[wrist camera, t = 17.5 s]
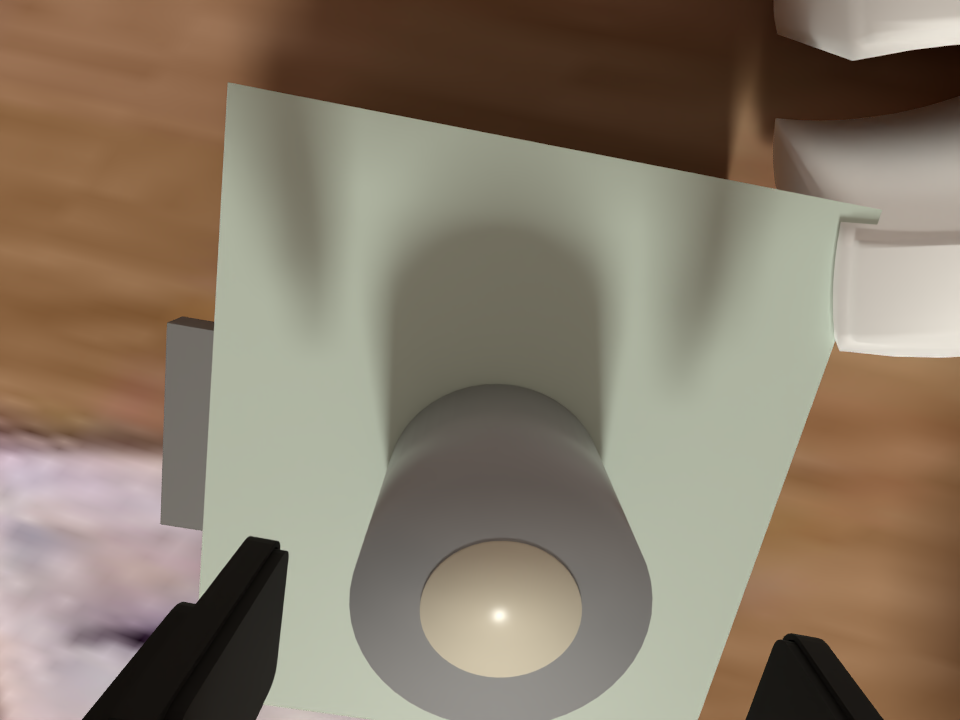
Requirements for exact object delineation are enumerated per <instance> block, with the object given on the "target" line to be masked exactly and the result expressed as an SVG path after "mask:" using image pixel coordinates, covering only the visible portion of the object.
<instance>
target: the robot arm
mask: <svg viewBox="0 0 960 720" xmlns="http://www.w3.org/2000/svg"><path fill="white" fill-rule="evenodd" d="M288 560H289V552H288V551H285V550H280V542H279V541H276V540H270V539H265V538H259V537H254V536H249V537H247V538H246V539H245V541H244V542H243V543H242V544H241V546H240V547H239V548H238V550H237V551H236V552H235V554H234V555H233V556H232V557H231V559H230V560H229V561H228V563H227V564H226V565H225V567H224V568H223V569H222V570H221V572H220V573H219V574H218V576H217V577H216V578H215V580H214V581H213V582H212V584H211V585H210V586H209V587H208V589H207V590H206V591H205V593H204V594H203V595H202V597H201V598H200V599H199V600H198V602H197V603H196V604H192V603H187V602H181V603H179V604H177V605H176V606H175V607H174V608H173V609H172V610H171V611H170V612H169V614H168V615H167V616H166V617H165V619H164V620H163V621H162V622H161V623H160V625H159V626H158V627H157V628H156V630H155V631H154V632H153V633H152V635H151V636H150V637H149V638H148V639H147V641H146V642H145V643H144V644H143V646H142V647H141V648H140V649H139V650H138V652H137V653H136V654H135V655H134V657H133V658H132V659H131V660H130V661H129V663H128V664H127V665H126V666H125V668H124V669H123V670H122V671H121V672H120V674H119V675H118V676H117V677H116V679H115V680H114V681H113V682H112V684H111V685H110V686H109V687H108V688H107V690H106V691H105V692H104V693H103V695H102V696H101V697H100V698H99V699H98V701H97V702H96V703H95V704H94V706H93V707H92V708H91V709H90V710H89V712H88V713H87V714H86V715H85V717H84V718H83V719H82V720H256V718H257V716H258V714H259V712H260V710H261V708H262V706H263V703H264V701H265V699H266V697H267V695H268V693H269V691H270V689H271V686H272V683H273V680H274V677H275V673H276V668H277V660H278V651H279V642H280V633H281V624H282V615H283V605H284V596H285V587H286V578H287V569H288ZM746 720H883V718H882V717H881V716H880V714H879V713H878V712H877V710H876V709H875V708H874V706H873V705H872V704H871V702H870V701H869V700H868V698H867V697H866V696H865V694H864V693H863V692H862V690H861V689H860V688H859V686H858V685H857V684H856V682H855V681H854V680H853V678H852V677H851V675H850V674H849V673H848V671H847V670H846V669H845V667H844V666H843V665H842V663H841V662H840V661H839V659H838V658H837V657H836V655H835V654H834V653H833V651H832V650H831V649H830V647H829V646H828V645H827V644H826V643H825V642H824V641H823V640H822V639H819V638H814V637H809V636H803V635H798V634H792V633H791V634H787V635H786V636H784V638H783V640H777V641H776V642H775V644H774V646H773V648H772V651H771V654H770V656H769V659H768V662H767V664H766V667H765V670H764V672H763V675H762V678H761V680H760V683H759V686H758V688H757V691H756V694H755V696H754V699H753V702H752V704H751V707H750V710H749V712H748V715H747V717H746Z"/></svg>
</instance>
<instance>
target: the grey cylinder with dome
mask: <svg viewBox="0 0 960 720" xmlns="http://www.w3.org/2000/svg"><path fill="white" fill-rule="evenodd" d="M652 600H653V597H652V586H651V579H650V575H649V571H648V568H647V564H646V562H645V560H644V557H643V555H642V553H641V550H640V548H639V546H638V543H637V541H636V539H635V537H634V534H633V532H632V530H631V527H630V525H629V523H628V520H627V518H626V516H625V514H624V511H623V509H622V507H621V504H620V502H619V500H618V497H617V495H616V493H615V491H614V488H613V486H612V484H611V481H610V479H609V477H608V474H607V472H606V470H605V468H604V465H603V463H602V461H601V458H600V456H599V454H598V451H597V449H596V447H595V445H594V442H593V440H592V438H591V436H590V435H589V433H588V431H587V430H586V428H585V427H584V426H583V424H582V423H581V422H580V421H579V420H578V418H577V417H576V416H575V415H574V414H572V413H571V412H570V411H569V410H568V409H567V408H566V407H564V406H563V405H561V404H560V403H558V402H557V401H556V400H554V399H552V398H550V397H548V396H546V395H544V394H542V393H539V392H537V391H534V390H531V389H528V388H524V387H519V386H515V385H505V384H484V385H478V386H471V387H467V388H464V389H460V390H457V391H454V392H452V393H450V394H447V395H445V396H443V397H441V398H439V399H437V400H436V401H434V402H432V403H431V404H429V405H428V406H427V407H426V408H424V409H423V410H422V411H420V412H419V413H418V414H417V415H416V416H415V417H414V418H413V419H412V420H411V421H410V423H409V424H408V425H407V427H406V428H405V429H404V431H403V432H402V434H401V435H400V437H399V439H398V441H397V443H396V445H395V448H394V450H393V453H392V456H391V459H390V462H389V465H388V468H387V471H386V474H385V477H384V480H383V483H382V486H381V489H380V492H379V495H378V498H377V502H376V505H375V508H374V511H373V514H372V517H371V520H370V523H369V526H368V529H367V532H366V535H365V538H364V541H363V544H362V547H361V550H360V553H359V557H358V560H357V563H356V566H355V569H354V572H353V576H352V581H351V586H350V597H349V609H350V618H351V624H352V628H353V631H354V635H355V638H356V641H357V643H358V645H359V647H360V650H361V652H362V654H363V655H364V657H365V659H366V660H367V662H368V663H369V665H370V666H371V668H372V669H373V670H374V671H375V673H376V674H377V675H378V676H379V677H380V679H381V680H382V681H383V682H384V683H385V684H387V685H388V686H389V687H390V688H391V689H392V690H393V691H394V692H395V693H397V694H398V695H400V696H401V697H402V698H404V699H405V700H407V701H408V702H410V703H411V704H413V705H415V706H417V707H419V708H421V709H422V710H424V711H427V712H429V713H431V714H434V715H436V716H439V717H441V718H445V719H448V720H551V719H554V718H557V717H560V716H563V715H566V714H568V713H570V712H572V711H574V710H577V709H579V708H581V707H583V706H584V705H586V704H588V703H589V702H591V701H593V700H594V699H596V698H598V697H599V696H600V695H601V694H603V693H604V692H605V691H606V690H608V689H609V688H610V687H611V686H612V685H613V684H614V683H615V682H616V681H617V680H618V679H619V678H620V677H621V676H622V675H623V674H624V673H625V672H626V670H627V669H628V668H629V666H630V665H631V664H632V663H633V661H634V660H635V658H636V656H637V654H638V652H639V651H640V649H641V647H642V645H643V642H644V640H645V637H646V635H647V632H648V628H649V624H650V620H651V615H652Z"/></svg>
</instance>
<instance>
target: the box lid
mask: <svg viewBox="0 0 960 720" xmlns="http://www.w3.org/2000/svg"><path fill="white" fill-rule="evenodd" d="M881 213H882V210H880V209H875V208H870V207H865V206H860V205H855V204H849V203H844V202H839V201H834V200H829V199H824V198H819V197H814V196H808V195H803V194H798V193H793V192H788V191H783V190H778V189H772V188H767V187H762V186H757V185H752V184H747V183H742V182H737V181H731V180H726V179H721V178H716V177H711V176H706V175H701V174H695V173H690V172H685V171H680V170H675V169H670V168H665V167H660V166H654V165H649V164H644V163H639V162H634V161H629V160H624V159H618V158H613V157H608V156H603V155H598V154H593V153H588V152H583V151H577V150H572V149H567V148H562V147H557V146H552V145H547V144H541V143H536V142H531V141H526V140H521V139H516V138H511V137H506V136H500V135H495V134H490V133H485V132H480V131H475V130H470V129H464V128H459V127H454V126H449V125H444V124H439V123H434V122H429V121H423V120H418V119H413V118H408V117H403V116H398V115H393V114H388V113H382V112H377V111H372V110H367V109H362V108H357V107H352V106H346V105H341V104H336V103H331V102H326V101H321V100H316V99H311V98H305V97H300V96H295V95H290V94H285V93H280V92H275V91H269V90H264V89H259V88H254V87H249V86H244V85H239V84H234V83H228V89H227V106H226V124H225V142H224V160H223V178H222V196H221V214H220V231H219V249H218V267H217V285H216V303H215V321H214V322H211V321H205V320H200V319H194V318H188V317H180V318H178V319H175V320H173V321H170V322H168V323H167V343H166V373H165V403H164V434H163V464H162V494H161V524H162V525H169V526H175V527H182V528H188V529H195V530H201V531H203V535H202V552H201V570H200V588H199V599H200V598H201V597H202V595H203V594H204V593H205V591H206V590H207V589H208V587H209V586H210V585H211V584H212V582H213V581H214V580H215V578H216V577H217V576H218V574H219V573H220V572H221V570H222V569H223V568H224V567H225V565H226V564H227V563H228V561H229V560H230V559H231V557H232V556H233V555H234V554H235V552H236V551H237V550H238V548H239V547H240V546H241V544H242V543H243V542H244V541H245V539H246V538H247V537H249V536H254V537H259V538H265V539H270V540H276V541H279V542H280V550H285V551H288V552H289V560H288V569H287V578H286V587H285V596H284V605H283V615H282V624H281V633H280V642H279V651H278V660H277V668H276V673H275V677H274V680H273V683H272V686H271V689H270V691H269V693H268V695H267V697H266V699H265V701H264V703H263V705H270V706H277V707H284V708H291V709H298V710H305V711H313V712H320V713H327V714H334V715H341V716H349V717H356V718H363V719H370V720H448V719H445V718H441V717H439V716H436V715H434V714H431V713H429V712H427V711H424V710H422V709H421V708H419V707H417V706H415V705H413V704H411V703H410V702H408V701H407V700H405V699H404V698H402V697H401V696H400V695H398V694H397V693H395V692H394V691H393V690H392V689H391V688H390V687H389V686H388V685H387V684H385V683H384V682H383V681H382V680H381V679H380V677H379V676H378V675H377V674H376V673H375V671H374V670H373V669H372V668H371V666H370V665H369V663H368V662H367V660H366V659H365V657H364V655H363V654H362V652H361V650H360V647H359V645H358V643H357V641H356V638H355V635H354V631H353V628H352V624H351V618H350V609H349V597H350V586H351V581H352V576H353V572H354V569H355V566H356V563H357V560H358V557H359V553H360V550H361V547H362V544H363V541H364V538H365V535H366V532H367V529H368V526H369V523H370V520H371V517H372V514H373V511H374V508H375V505H376V502H377V498H378V495H379V492H380V489H381V486H382V483H383V480H384V477H385V474H386V471H387V468H388V465H389V462H390V459H391V456H392V453H393V450H394V448H395V445H396V443H397V441H398V439H399V437H400V435H401V434H402V432H403V431H404V429H405V428H406V427H407V425H408V424H409V423H410V421H411V420H412V419H413V418H414V417H415V416H416V415H417V414H418V413H419V412H420V411H422V410H423V409H424V408H426V407H427V406H428V405H429V404H431V403H432V402H434V401H436V400H437V399H439V398H441V397H443V396H445V395H447V394H450V393H452V392H454V391H457V390H460V389H464V388H467V387H471V386H478V385H484V384H505V385H515V386H519V387H524V388H528V389H531V390H534V391H537V392H539V393H542V394H544V395H546V396H548V397H550V398H552V399H554V400H556V401H557V402H558V403H560V404H561V405H563V406H564V407H566V408H567V409H568V410H569V411H570V412H571V413H572V414H574V415H575V416H576V417H577V418H578V420H579V421H580V422H581V423H582V424H583V426H584V427H585V428H586V430H587V431H588V433H589V435H590V436H591V438H592V440H593V442H594V445H595V447H596V449H597V451H598V454H599V456H600V458H601V461H602V463H603V465H604V468H605V470H606V472H607V474H608V477H609V479H610V481H611V484H612V486H613V488H614V491H615V493H616V495H617V497H618V500H619V502H620V504H621V507H622V509H623V511H624V514H625V516H626V518H627V520H628V523H629V525H630V527H631V530H632V532H633V534H634V537H635V539H636V541H637V543H638V546H639V548H640V550H641V553H642V555H643V557H644V560H645V562H646V564H647V568H648V571H649V575H650V579H651V586H652V597H653V600H652V615H651V620H650V624H649V628H648V632H647V635H646V637H645V640H644V642H643V645H642V647H641V649H640V651H639V652H638V654H637V656H636V658H635V660H634V661H633V663H632V664H631V665H630V666H629V668H628V669H627V670H626V672H625V673H624V674H623V675H622V676H621V677H620V678H619V679H618V680H617V681H616V682H615V683H614V684H613V685H612V686H611V687H610V688H609V689H608V690H606V691H605V692H604V693H603V694H601V695H600V696H599V697H598V698H596V699H594V700H593V701H591V702H589V703H588V704H586V705H584V706H583V707H581V708H579V709H577V710H574V711H572V712H570V713H568V714H566V715H563V716H560V717H557V718H554V719H551V720H698V718H699V715H700V712H701V710H702V707H703V704H704V701H705V699H706V696H707V693H708V690H709V687H710V685H711V682H712V679H713V676H714V674H715V671H716V668H717V665H718V663H719V660H720V657H721V654H722V652H723V649H724V646H725V643H726V641H727V638H728V635H729V632H730V629H731V627H732V624H733V621H734V618H735V616H736V613H737V610H738V607H739V605H740V602H741V599H742V596H743V594H744V591H745V588H746V585H747V583H748V580H749V577H750V574H751V572H752V569H753V566H754V563H755V560H756V558H757V555H758V552H759V549H760V547H761V544H762V541H763V538H764V536H765V533H766V530H767V527H768V525H769V522H770V519H771V516H772V514H773V511H774V508H775V505H776V503H777V500H778V497H779V494H780V491H781V489H782V486H783V483H784V480H785V478H786V475H787V472H788V469H789V467H790V464H791V461H792V458H793V456H794V453H795V450H796V447H797V445H798V442H799V439H800V436H801V434H802V431H803V428H804V425H805V422H806V420H807V417H808V414H809V411H810V409H811V406H812V403H813V400H814V398H815V395H816V392H817V389H818V387H819V384H820V381H821V378H822V376H823V373H824V370H825V367H826V364H827V362H828V359H829V356H830V353H831V351H832V348H833V345H834V342H835V337H834V323H833V280H834V267H835V257H836V250H837V243H838V236H839V230H840V224H841V222H849V223H862V224H875V225H877V224H878V221H879V218H880V215H881Z"/></svg>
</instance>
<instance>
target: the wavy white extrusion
mask: <svg viewBox="0 0 960 720" xmlns="http://www.w3.org/2000/svg"><path fill="white" fill-rule="evenodd" d="M773 5H774V19H775V25H776V30H777V34H778V35H781V36H784V37H787V38H789V39H792V40H795V41H798V42H801V43H804V44H806V45H809V46H812V47H815V48H818V49H821V50H823V51H826V52H829V53H832V54H835V55H837V56H840V57H843V58H846V59H849V60H852V61H854V60H860V59H865V58H871V57H876V56H882V55H887V54H893V53H898V52H904V51H909V50H916V49H924V48H932V47H940V46H949V45H960V0H774V3H773ZM773 168H774V178H775V185H776V188H777V189H778V190H783V191H788V192H793V193H798V194H803V195H808V196H814V197H819V198H824V199H829V200H834V201H839V202H844V203H849V204H855V205H860V206H865V207H870V208H875V209H880V210H882V213H881V215H880V218H879V221H878V224H877V225H875V224H862V223H849V222H841V224H840V230H839V236H838V243H837V250H836V257H835V267H834V280H833V323H834V337H835V341H836V343H837V346H838V348H839V351H847V352H856V353H866V354H876V355H885V356H897V357H938V358H943V357H960V96H957V97H955V98H952V99H948V100H945V101H942V102H939V103H936V104H932V105H928V106H925V107H921V108H917V109H912V110H908V111H904V112H898V113H893V114H888V115H881V116H875V117H867V118H858V119H845V120H793V119H779V118H776V119H775V127H774V137H773Z"/></svg>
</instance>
